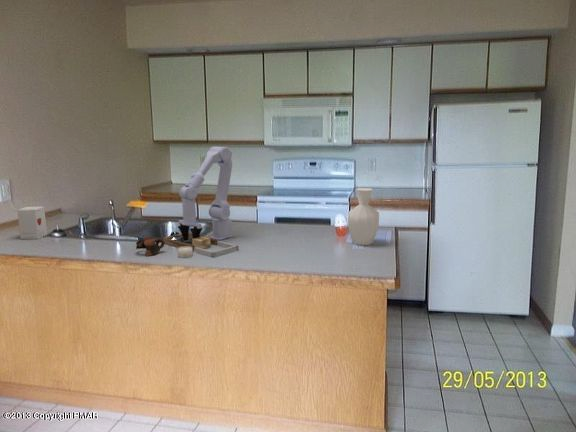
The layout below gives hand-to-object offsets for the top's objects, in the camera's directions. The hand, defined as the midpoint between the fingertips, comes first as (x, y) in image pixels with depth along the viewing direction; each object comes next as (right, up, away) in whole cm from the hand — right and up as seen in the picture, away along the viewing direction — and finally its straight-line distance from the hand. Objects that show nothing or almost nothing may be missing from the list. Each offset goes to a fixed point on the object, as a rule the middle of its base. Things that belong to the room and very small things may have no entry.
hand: (190, 241), depth 211 cm
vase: (+80, -1, -1) cm, 80 cm away
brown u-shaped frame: (-1, -1, +1) cm, 2 cm away
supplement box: (-82, +1, +18) cm, 84 cm away
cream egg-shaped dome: (+1, -5, -18) cm, 18 cm away
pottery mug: (-15, -5, -13) cm, 20 cm away
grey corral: (+14, -4, -11) cm, 18 cm away
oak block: (+6, -2, -5) cm, 8 cm away
